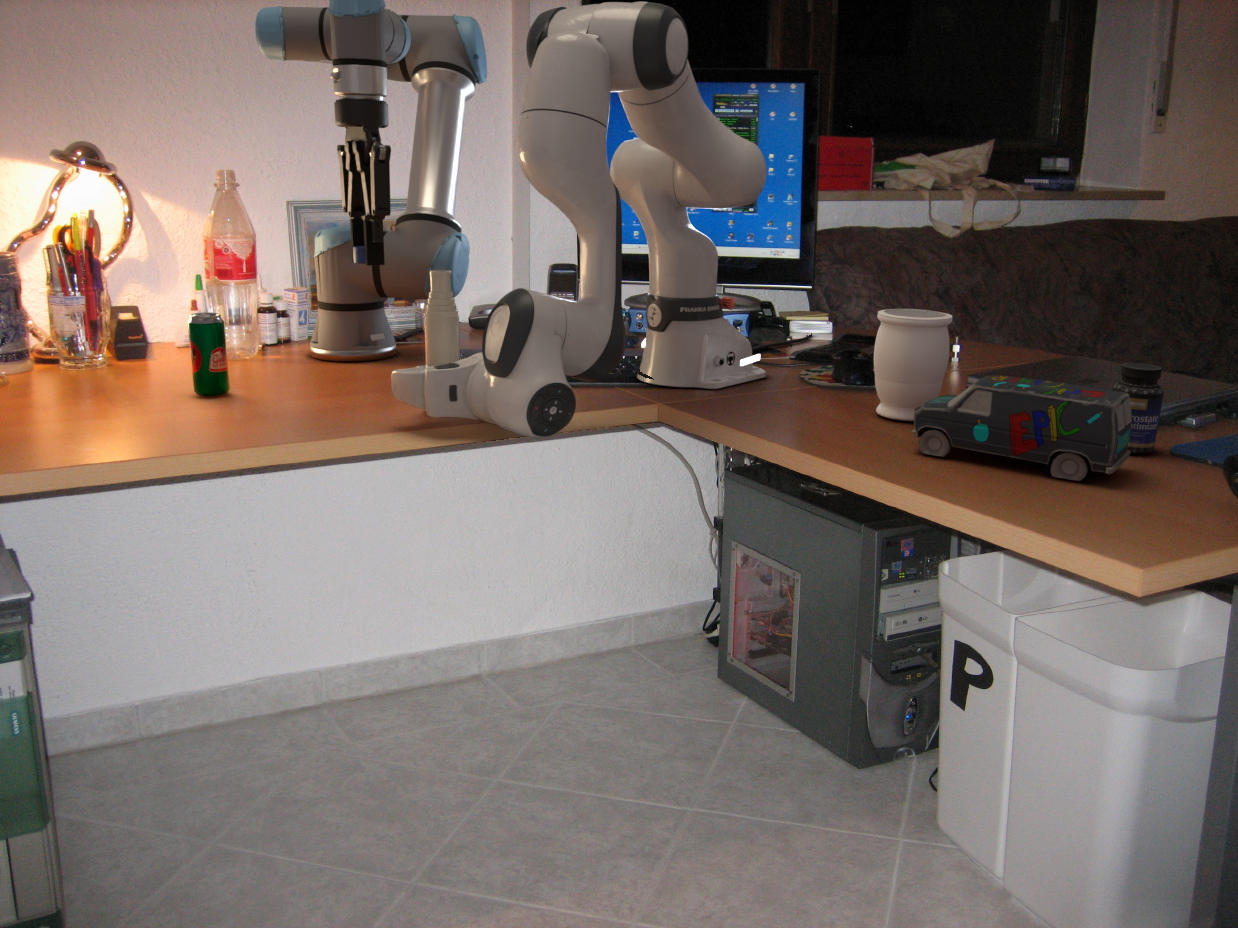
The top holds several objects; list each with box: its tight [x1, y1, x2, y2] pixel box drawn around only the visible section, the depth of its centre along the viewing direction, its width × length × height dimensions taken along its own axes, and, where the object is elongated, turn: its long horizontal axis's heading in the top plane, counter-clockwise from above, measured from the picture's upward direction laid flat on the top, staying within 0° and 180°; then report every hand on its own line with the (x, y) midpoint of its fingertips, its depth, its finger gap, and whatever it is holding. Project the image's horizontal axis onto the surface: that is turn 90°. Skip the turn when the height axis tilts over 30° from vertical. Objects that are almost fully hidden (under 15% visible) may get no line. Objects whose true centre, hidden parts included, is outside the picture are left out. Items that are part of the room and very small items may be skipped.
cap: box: [353, 246, 365, 264], centre depth 159 cm, size 4×4×2 cm
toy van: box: [911, 374, 1133, 482], centre depth 133 cm, size 11×25×10 cm, turn 54°
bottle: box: [423, 270, 461, 366], centre depth 151 cm, size 5×5×20 cm
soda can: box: [187, 312, 231, 398], centre depth 160 cm, size 5×5×12 cm
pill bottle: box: [1111, 362, 1165, 455], centre depth 139 cm, size 6×6×11 cm
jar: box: [873, 308, 953, 422], centre depth 154 cm, size 11×10×15 cm
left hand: (368, 263), depth 160 cm, fingers closed on cap, 4 cm apart
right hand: (439, 369), depth 153 cm, fingers closed on bottle, 5 cm apart
